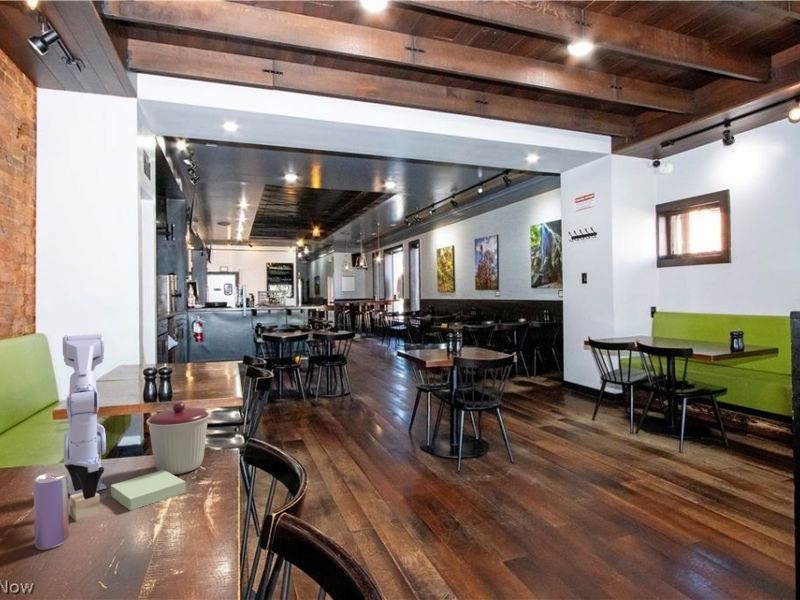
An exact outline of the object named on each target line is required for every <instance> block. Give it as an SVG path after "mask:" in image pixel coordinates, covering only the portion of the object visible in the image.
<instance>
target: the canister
mask: <svg viewBox="0 0 800 600" xmlns="http://www.w3.org/2000/svg"><path fill="white" fill-rule="evenodd" d="M210 416H211V413H210V412H209V411H207V410H204V409H203V408H199V407H186V405H185V403H184V402H181V401H180V402H175V403H173V405H172V409H167V410H162V411H160V412H157V413H155V414H153V415H151V416H150V417H149V418H148V419H146V422H145V423H146V424H147V425H148V428H149V435H150V437H149V438H150V443H151V449H152V457H153V461H154V466H155V468H156V470H157V471H161V470H165V471H167V472H169V473H171V474H172V475H174V476H175V475H181V474H186V473H188V472H191V471H194V470H196V469H198V468H199V467H200V466H201V464H202V463H203V459H204V456H205V449H206V439H207V430H208V421H209V420H208V419H209V417H210Z"/></svg>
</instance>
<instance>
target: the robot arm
mask: <svg viewBox="0 0 800 600" xmlns="http://www.w3.org/2000/svg"><path fill="white" fill-rule="evenodd" d="M104 337H105V336H104V334H102V333H99V334H79V335H64V336H63V337H62V356H63V360H64V361H63V362H64V363H65V366H67V367H71V368H72V369H73V370H74V372H73V373H72V374H71V375H70V377H69V394H68V395H67V396H66V415H67V418H68V419H67V421H68V422H67V423H68V425H69V427H68V430H66V431H65V433H64V437H63V438H64V439H63V459H64V461H63V464H64V467H65V468H66V470H67V478H68V495H69V496H71V495H75V494H78V493H82V492H83V496H84V499H89V498H92V497H95V494H96V492H99V491H102V490H105V489H107V485H106V484H104V483H102V475H103V473H104V472H105V467H103V466H102V455H105V453H106V452H107V439H106V438H107V437H106V428H104V426H103V425H102V424H100V423H98V413H99V400H100V399H99V392H98V387H97V374H96V372H95V369H96V367H97V366H98V365H100V364H102V363H103V360H104V356H105V355H104V353H105V338H104ZM95 409H96V411H95Z"/></svg>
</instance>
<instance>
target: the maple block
mask: <svg viewBox="0 0 800 600" xmlns="http://www.w3.org/2000/svg"><path fill="white" fill-rule="evenodd" d="M100 498H101V497H100V494H99V493H98V491H96V494H95V497H92V498H89V499H84V496H83V492H82V493H78V494H75V495H69V515H70V517H71V518H72V519H73V520H74V521H75V522H79V521H84V520H86V519H89V518H92V517H95V516H98V515H100V514H101V508H100V507H101V501H100V500H101V499H100ZM97 514H98V515H97Z"/></svg>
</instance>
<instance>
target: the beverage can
mask: <svg viewBox="0 0 800 600" xmlns="http://www.w3.org/2000/svg"><path fill="white" fill-rule="evenodd" d="M33 512H34V513H33V514H34V515H33V516H34V518H33V519H34V524H33V525H34V547H36V549H38V550H41V551H46V550H51V549H52V550H53V549H54V548H57V546H58V547H60V546H61V545H62V546H63V544H65V543H66V541H68V538H69V536H70V533H69V527H70V526H69V525H70V524H69V493H68V475H67V472H66V471H52V472H47V473H43V474H41V475H38V476H37V477H36V478H34V483H33Z"/></svg>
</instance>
